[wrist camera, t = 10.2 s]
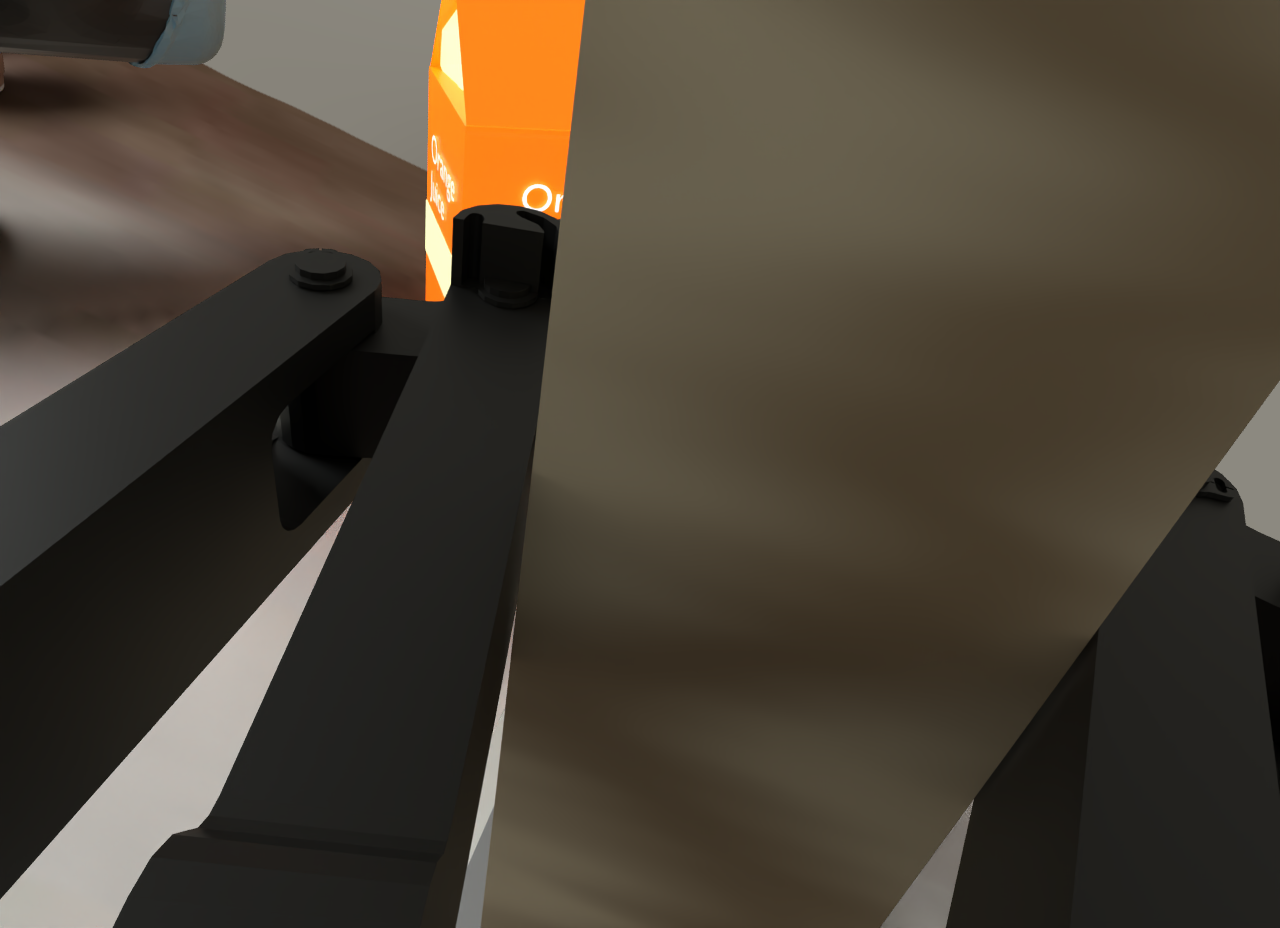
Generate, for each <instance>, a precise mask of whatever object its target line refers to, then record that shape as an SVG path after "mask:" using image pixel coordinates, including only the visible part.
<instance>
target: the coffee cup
mask: <svg viewBox="0 0 1280 928" xmlns="http://www.w3.org/2000/svg"><path fill="white" fill-rule="evenodd" d="M3 73H4V62H3V56H2V52H0V92H1V91H2V90H3V88H4V76H3Z"/></svg>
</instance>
